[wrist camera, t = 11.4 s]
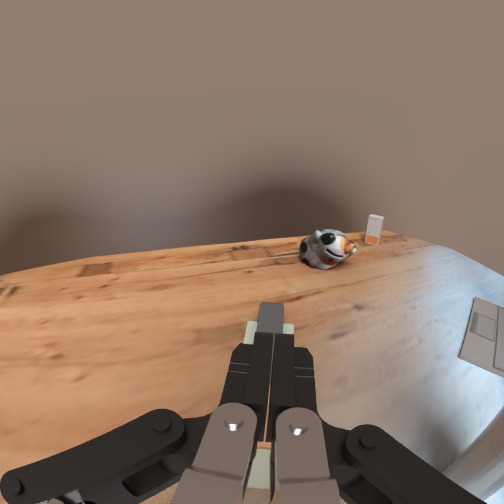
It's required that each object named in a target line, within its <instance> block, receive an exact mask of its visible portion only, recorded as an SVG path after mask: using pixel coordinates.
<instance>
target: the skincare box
mask: <svg viewBox="0 0 504 504" xmlns="http://www.w3.org/2000/svg"><path fill="white" fill-rule="evenodd" d="M383 221H384V217H382V216H378V215H372V214H371V215H370V216H369V220H368V226H367V232H366V238H365V243H368V244H371V245H375V246H378V245H379V243H380V238H381V232H382V226H383Z"/></svg>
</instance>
